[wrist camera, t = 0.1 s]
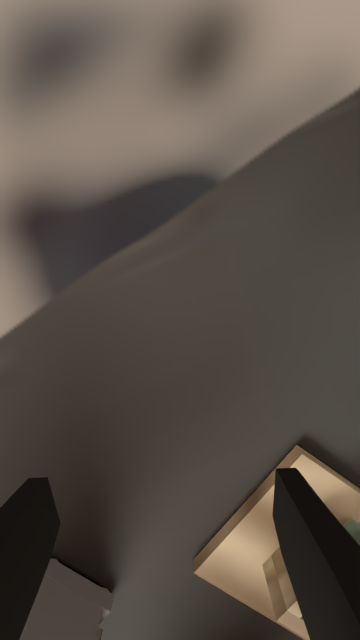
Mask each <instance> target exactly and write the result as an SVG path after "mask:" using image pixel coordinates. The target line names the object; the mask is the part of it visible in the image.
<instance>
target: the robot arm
mask: <svg viewBox="0 0 360 640" xmlns="http://www.w3.org/2000/svg"><path fill="white" fill-rule="evenodd" d="M272 516H273V520H274V524H275V529H276V533H277V537H278V542H279V546H280V550H281V554H282V557H283V560H284V563H285V566H286V569H287V572H288V575H289V578H290V581H291V584H292V587H293V590H294V593H295V596H296V599H297V602H298V605H299V608H300V611H301V614H302V617H303V620H304V623H305V626H306V629H307V632H308V635H309V638H310V640H360V545H359V544H358V543H357V541H356V540H355V539H354V538H353V537H352V536H351V535H350V533H349V532H348V531H347V530H346V529H345V528H344V526H343V525H342V524H341V523H340V522H339V521H338V519H337V518H336V517H335V516H334V515H333V513H332V512H331V511H330V510H329V509H328V507H327V506H326V505H325V504H324V502H323V501H322V500H321V499H320V497H319V496H318V495H317V494H316V492H315V491H314V490H313V489H312V487H311V486H310V485H309V483H308V482H307V481H306V479H305V478H304V477H303V475H302V474H301V473H300V471H299V470H298V469H297V468H276V473H275V486H274V500H273V513H272ZM59 525H60V520H59V517H58V513H57V510H56V506H55V502H54V499H53V495H52V492H51V488H50V485H49V481H48V477H47V478H28V479H27V481H26V482H25V483H24V484H23V485H22V486H21V487H20V488H19V489H18V490H17V491H16V492H15V493H14V494H13V495H12V496H11V497H10V498H9V499H8V500H7V501H6V502H5V504H4V505H3V506H2V507H1V508H0V640H19V639H20V637H21V634H22V632H23V629H24V627H25V624H26V621H27V619H28V616H29V614H30V611H31V609H32V606H33V604H34V601H35V598H36V596H37V593H38V591H39V588H40V585H41V583H42V580H43V578H44V575H45V572H46V570H47V567H48V564H49V562H50V558H51V555H52V551H53V548H54V544H55V541H56V537H57V533H58V529H59Z"/></svg>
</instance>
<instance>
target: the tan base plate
mask: <svg viewBox="0 0 360 640" xmlns="http://www.w3.org/2000/svg"><path fill="white" fill-rule="evenodd" d="M276 468H297V469H298V470H299V471H300V473H301V474H302V475H303V477H304V478H305V479H306V481H307V482H308V483H309V485H310V486H311V487H312V489H313V490H314V491H315V492H316V494H317V495H318V496H319V497H320V499H321V500H322V501H323V502H324V504H325V505H326V506H327V507H328V509H329V510H330V511H331V512H332V513H333V515H334V516H335V517H336V518H337V519H338V521H339V522H340V523H341V524H342V525H343V526H344V527H345V526H346V525H347V524H348V523H349V522H350V521H351V520H352V519H353V520H355V521H356V522H358V523H359V524H360V488H358V487H357V486H355V485H354V484H353V483H351V482H350V481H348V480H347V479H345V478H344V477H342V476H341V475H340V474H338V473H337V472H335V471H334V470H332V469H331V468H329V467H328V466H327V465H325V464H324V463H322V462H321V461H319V460H318V459H316V458H315V457H314V456H312V455H311V454H309V453H308V452H306V451H305V450H303V449H302V448H301V447H299V446H298V445H296V446H295V447H294V448H293V449H292V450H291V451H290V453H289V454H288V455H287V456H286V457H285V458H284V459H283V460H282V462H281V463H280V464H279V465H278V466H277V467H276ZM276 468H275V469H274V470H273V472H272V473H271V474H270V475H269V476H268V477H267V478H266V479H265V480H264V482H263V483H262V484H261V485H260V486H259V487H258V488H257V489H256V490H255V492H254V493H253V494H252V495H251V496H250V497H249V498H248V499H247V500H246V502H245V503H244V504H243V505H242V506H241V507H240V508H239V509H238V511H237V512H236V513H235V514H234V515H233V516H232V517H231V518H230V519H229V521H228V522H227V523H226V524H225V525H224V526H223V527H222V528H221V529H220V531H219V532H218V533H217V534H216V535H215V536H214V537H213V538H212V539H211V541H210V542H209V543H208V544H207V545H206V546H205V547H204V548H203V549H202V551H201V552H200V553H199V554H198V555H197V556H196V557H195V558H194V560H193V561H194V573H195V574H196V575H198V576H200V577H201V578H203V579H204V580H206V581H208V582H209V583H211V584H213V585H214V586H216V587H218V588H219V589H221V590H223V591H224V592H226V593H228V594H229V595H231V596H233V597H234V598H236V599H238V600H239V601H241V602H242V603H244V604H246V605H247V606H249V607H251V608H252V609H254V610H256V611H257V612H259V613H261V614H262V615H264V616H266V617H267V618H269V619H271V620H272V621H274V622H275V623H277V624H279V625H280V626H282V627H284V628H285V629H287V630H289V631H290V632H292V633H294V634H295V635H297V636H299V637H300V638H302V639H304V640H307V639H306V638H304V637H302V636H301V635H299V634H297V633H296V632H294V631H292V630H291V629H289V628H287V627H286V626H284V625H282V624H281V623H279V622H278V621H276V617H275V613H274V609H273V605H272V601H271V597H270V594H269V590H268V586H267V582H266V578H265V574H264V570H263V566H262V565H263V564H264V563H265V562H266V561H267V559H268V558H269V557H270V556H271V555H272V554H273V553H274V552H275V551H276V550H277V549H278V548H279V547H280V546H279V542H278V537H277V533H276V529H275V524H274V520H273V516H272V513H273V500H274V486H275V473H276Z"/></svg>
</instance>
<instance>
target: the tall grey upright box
mask: <svg viewBox="0 0 360 640" xmlns="http://www.w3.org/2000/svg"><path fill="white" fill-rule="evenodd" d="M113 596H114V595H113V594H112V593H110V592H109V590H108V589H107V588H104V587H102V588H101V587H100V586H98V585H96V584H94V583H93V582H91V581H89V580H88V579H86V578H84V577H82V576H81V575H79V574H77V573H76V572H74V571H72V570H71V569H69V568H67V567H65V566H64V565H62V564H60V563H59V562H58V560H57V559H55V558H50V562H49V564H48V567H47V570H46V572H45V575H44V578H43V580H42V583H41V585H40V588H39V591H38V593H37V596H36V598H35V601H34V604H33V606H32V609H31V611H30V614H29V616H28V619H27V621H26V624H25V627H24V629H23V632H22V634H21V637H20V639H19V640H100V639H101V635H102V629H101V628H99V627H98V626H99V624H100V623H101V622H102V620H103V619H104V618H105V617H106V616H107V615H108V614H109V612H110V611H111V606H112V601H113Z"/></svg>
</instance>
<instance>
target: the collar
mask: <svg viewBox="0 0 360 640" xmlns="http://www.w3.org/2000/svg"><path fill="white" fill-rule="evenodd" d="M344 528H345V529H346V530H347V531H348V532H349V533H350V535H351V536H352V537H353V538H354V539H355V540H356V541H357V543H358V544H359V545H360V524H359V523H358V522H356V521H355V520H353V519H352V520H351V521H350V522H349V523H348V524H347V525H346V526H345V527H344ZM262 566H263V570H264V574H265V578H266V582H267V586H268V590H269V594H270V597H271V601H272V605H273V609H274V613H275V617H276V621H278V622H279V623H281V624H282V625H284V626H286V627H287V628H289V629H291V630H292V631H294V632H296V633H297V634H299V635H301V636H302V637H304V638H306V639H307V640H310V638H309V635H308V632H307V629H306V626H305V623H304V620H303V617H302V614H301V611H300V608H299V605H298V602H297V599H296V596H295V593H294V590H293V587H292V584H291V581H290V578H289V575H288V572H287V569H286V566H285V563H284V560H283V557H282V554H281V550H280V547H279V548H278V549H277V550H276V551H275V552H274V553H273V554H272V555H271V556H270V557H269V558H268V559H267V561H266V562H265V563H264V564H263V565H262Z"/></svg>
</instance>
